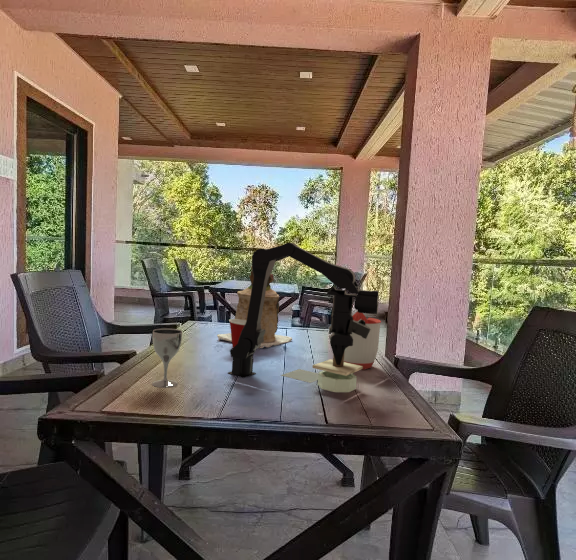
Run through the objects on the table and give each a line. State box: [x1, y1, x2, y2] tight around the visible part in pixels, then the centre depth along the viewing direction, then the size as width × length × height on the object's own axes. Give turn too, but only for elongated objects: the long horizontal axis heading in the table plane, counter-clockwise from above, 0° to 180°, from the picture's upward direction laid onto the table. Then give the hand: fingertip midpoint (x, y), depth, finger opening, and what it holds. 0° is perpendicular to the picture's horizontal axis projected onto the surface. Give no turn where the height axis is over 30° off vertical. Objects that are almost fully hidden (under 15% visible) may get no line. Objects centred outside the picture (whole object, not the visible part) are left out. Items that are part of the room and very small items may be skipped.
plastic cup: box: [228, 318, 246, 348], centre depth 175 cm, size 11×11×12 cm
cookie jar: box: [217, 265, 293, 349], centre depth 197 cm, size 25×25×32 cm
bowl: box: [317, 370, 358, 393], centre depth 137 cm, size 10×10×4 cm
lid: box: [312, 351, 363, 376], centre depth 137 cm, size 11×11×5 cm
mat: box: [280, 368, 319, 384], centre depth 147 cm, size 11×11×1 cm
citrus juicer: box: [344, 310, 382, 371], centre depth 166 cm, size 16×17×20 cm
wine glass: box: [151, 328, 183, 389], centre depth 130 cm, size 8×8×15 cm
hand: (338, 363), depth 137 cm, fingers closed on lid, 3 cm apart
